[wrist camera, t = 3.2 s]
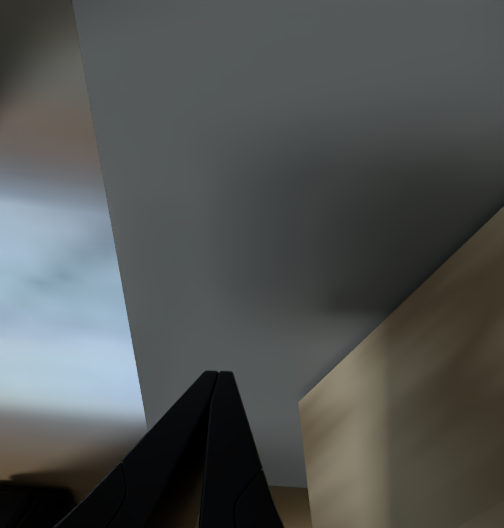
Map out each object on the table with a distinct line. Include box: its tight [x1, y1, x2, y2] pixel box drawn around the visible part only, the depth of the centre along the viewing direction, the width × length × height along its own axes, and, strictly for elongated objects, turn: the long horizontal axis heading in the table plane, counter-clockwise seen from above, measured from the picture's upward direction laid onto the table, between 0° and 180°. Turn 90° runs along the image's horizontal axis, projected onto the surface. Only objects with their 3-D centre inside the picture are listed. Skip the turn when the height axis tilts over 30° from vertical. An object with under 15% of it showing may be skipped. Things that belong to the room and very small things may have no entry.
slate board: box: [72, 0, 504, 488], centre depth 12 cm, size 20×20×1 cm
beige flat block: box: [298, 207, 504, 528], centre depth 8 cm, size 12×2×6 cm, turn 145°
